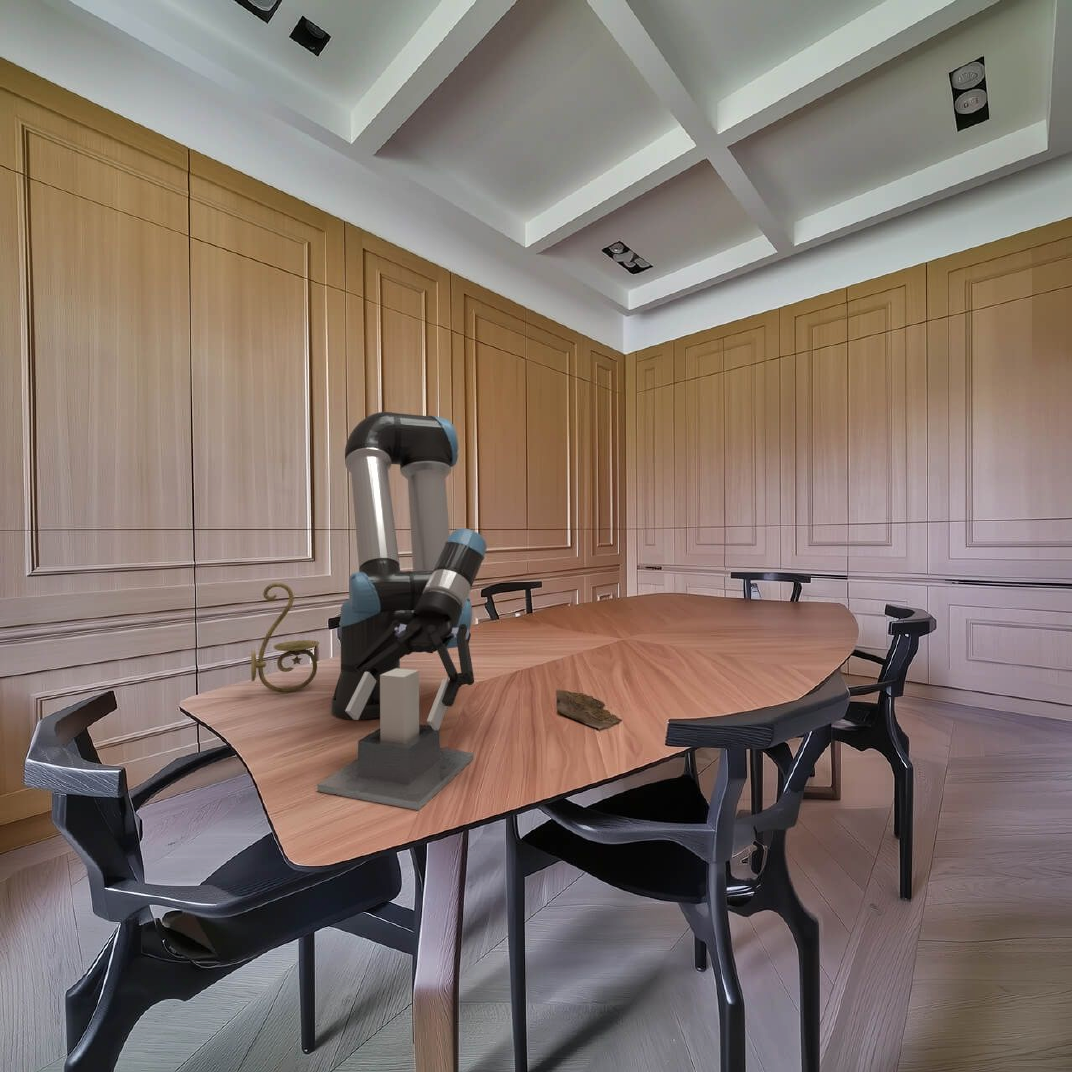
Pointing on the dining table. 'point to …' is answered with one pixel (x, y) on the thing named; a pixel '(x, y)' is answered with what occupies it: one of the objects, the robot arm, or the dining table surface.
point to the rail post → (399, 705)
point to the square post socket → (398, 770)
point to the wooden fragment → (585, 709)
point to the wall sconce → (283, 648)
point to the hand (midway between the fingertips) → (390, 720)
